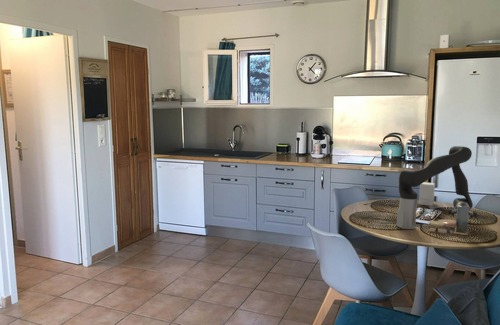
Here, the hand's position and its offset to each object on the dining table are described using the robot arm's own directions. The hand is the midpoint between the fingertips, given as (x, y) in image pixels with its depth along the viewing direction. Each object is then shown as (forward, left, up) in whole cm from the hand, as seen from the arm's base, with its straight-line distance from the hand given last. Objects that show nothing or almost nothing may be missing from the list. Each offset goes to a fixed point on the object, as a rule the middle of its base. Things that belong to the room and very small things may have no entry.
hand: (462, 215), depth 223 cm
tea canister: (-2, -3, -8) cm, 9 cm away
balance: (-7, +1, -10) cm, 12 cm away
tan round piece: (+6, +15, -10) cm, 19 cm away
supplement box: (+24, +64, -10) cm, 69 cm away
